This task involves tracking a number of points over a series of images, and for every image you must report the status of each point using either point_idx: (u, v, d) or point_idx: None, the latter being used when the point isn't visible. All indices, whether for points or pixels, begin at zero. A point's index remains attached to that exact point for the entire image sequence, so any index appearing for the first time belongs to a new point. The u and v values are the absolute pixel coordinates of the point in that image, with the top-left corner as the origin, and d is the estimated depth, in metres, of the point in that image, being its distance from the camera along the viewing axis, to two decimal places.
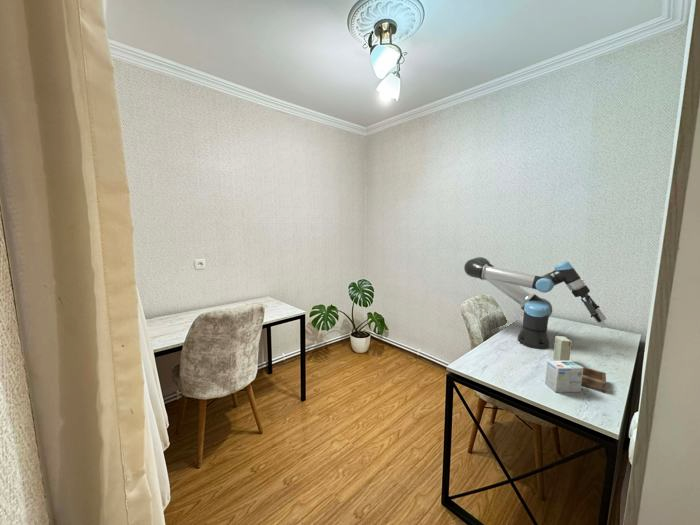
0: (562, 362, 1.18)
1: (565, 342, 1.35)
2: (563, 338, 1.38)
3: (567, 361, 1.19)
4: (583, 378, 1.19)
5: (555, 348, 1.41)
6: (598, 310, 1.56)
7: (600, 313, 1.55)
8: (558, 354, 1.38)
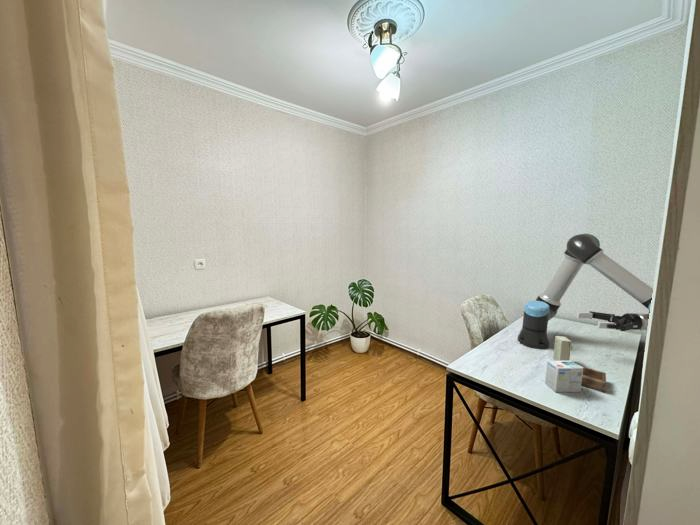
0: (562, 362, 1.18)
1: (565, 342, 1.35)
2: (563, 338, 1.38)
3: (567, 361, 1.19)
4: (583, 378, 1.19)
5: (555, 348, 1.41)
6: (590, 317, 1.41)
7: (586, 316, 1.41)
8: (558, 354, 1.38)
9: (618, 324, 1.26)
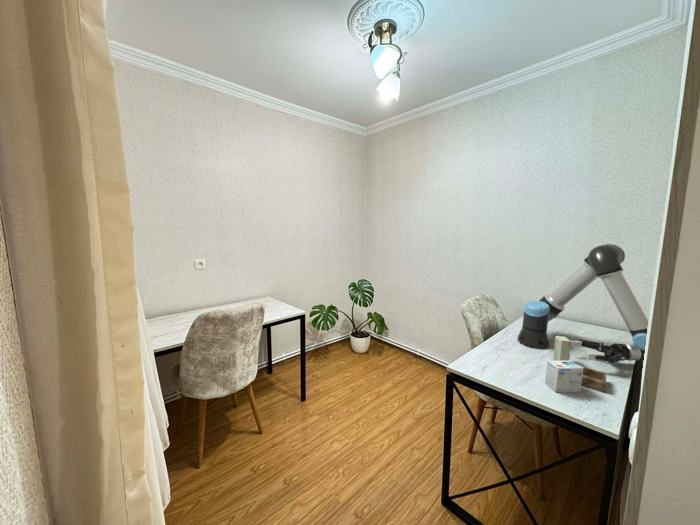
0: (562, 362, 1.18)
1: (565, 342, 1.35)
2: (563, 338, 1.38)
3: (567, 361, 1.19)
4: (583, 378, 1.19)
5: (555, 348, 1.41)
6: (579, 345, 1.43)
7: (575, 345, 1.43)
8: (558, 354, 1.38)
9: (606, 356, 1.28)
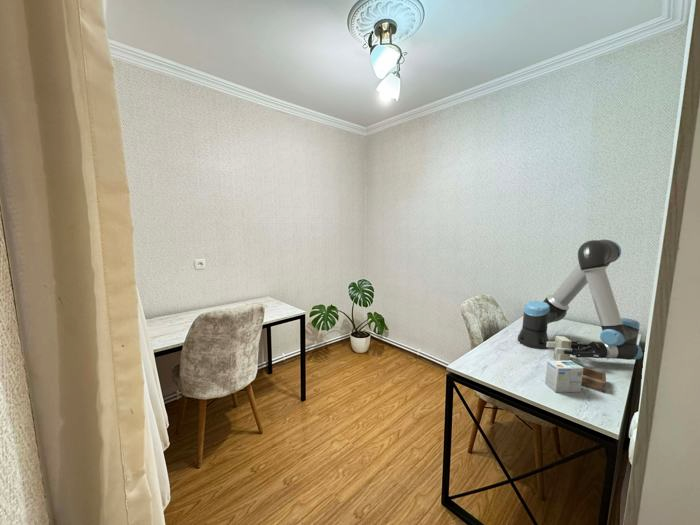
0: (562, 362, 1.18)
1: (565, 342, 1.35)
2: (563, 338, 1.38)
3: (567, 361, 1.19)
4: (583, 378, 1.19)
5: (555, 348, 1.41)
6: None
7: None
8: (558, 354, 1.38)
9: (573, 350, 1.33)
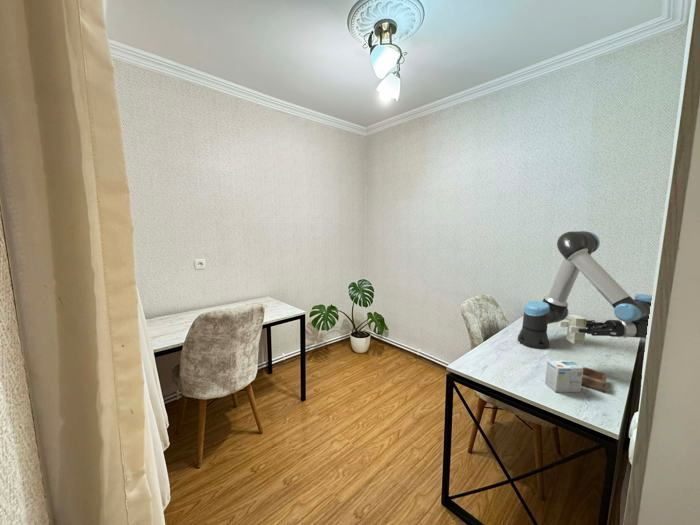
0: (562, 362, 1.18)
1: (580, 320, 1.27)
2: (577, 316, 1.30)
3: (567, 361, 1.19)
4: (583, 378, 1.19)
5: (569, 327, 1.33)
6: None
7: None
8: (572, 333, 1.30)
9: (589, 328, 1.25)
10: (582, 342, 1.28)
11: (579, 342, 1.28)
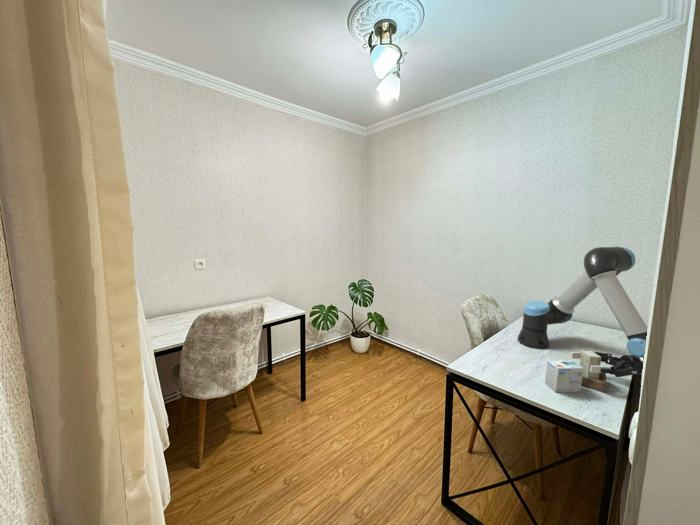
0: (562, 362, 1.18)
1: (594, 358, 1.18)
2: (591, 353, 1.21)
3: (567, 361, 1.19)
4: (583, 378, 1.19)
5: (581, 364, 1.24)
6: None
7: (580, 357, 1.27)
8: (585, 371, 1.21)
9: (612, 369, 1.13)
10: None
11: None
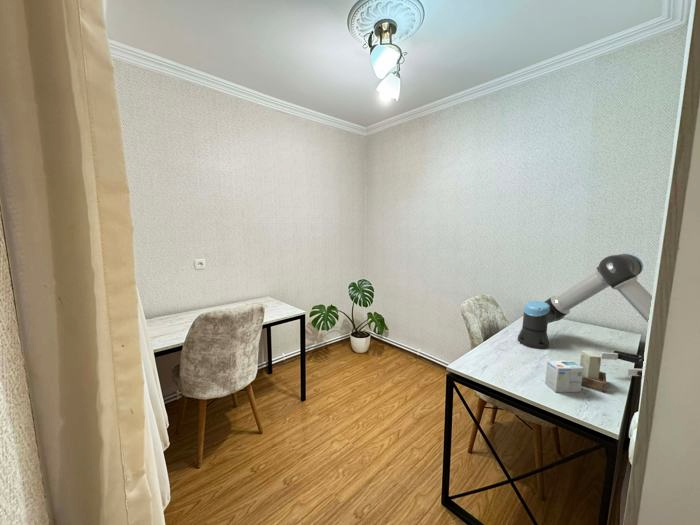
0: (562, 362, 1.18)
1: (594, 358, 1.18)
2: (591, 353, 1.21)
3: (567, 361, 1.19)
4: (583, 378, 1.19)
5: (581, 364, 1.24)
6: (615, 358, 1.26)
7: (610, 357, 1.26)
8: (585, 371, 1.21)
9: None
10: None
11: None
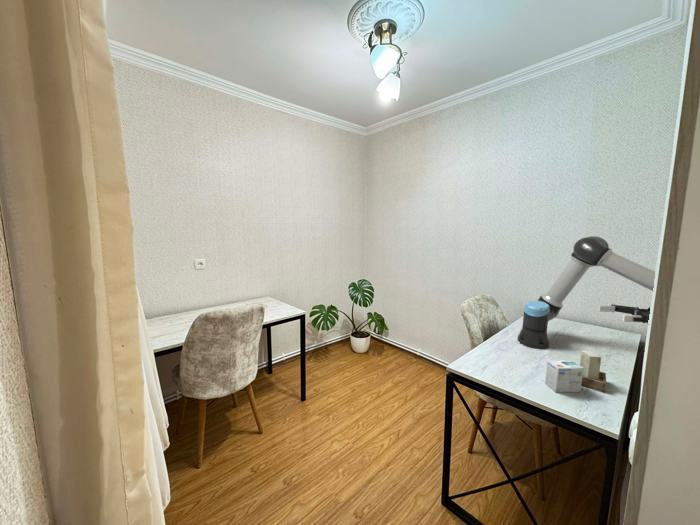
0: (562, 362, 1.18)
1: (594, 358, 1.18)
2: (591, 353, 1.21)
3: (567, 361, 1.19)
4: (583, 378, 1.19)
5: (581, 364, 1.24)
6: (612, 310, 1.33)
7: (608, 310, 1.33)
8: (585, 371, 1.21)
9: (645, 317, 1.18)
10: None
11: None
